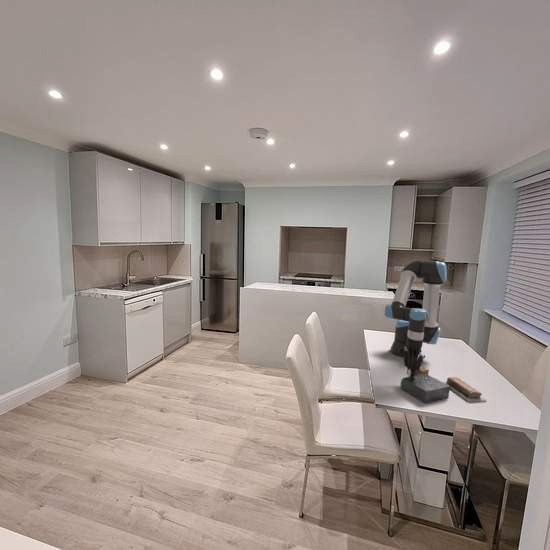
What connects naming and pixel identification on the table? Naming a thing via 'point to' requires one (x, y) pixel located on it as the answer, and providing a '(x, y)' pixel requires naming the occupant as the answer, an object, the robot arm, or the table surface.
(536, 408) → the table surface
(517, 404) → the table surface
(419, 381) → the housing
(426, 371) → the block
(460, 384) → the packaged product
